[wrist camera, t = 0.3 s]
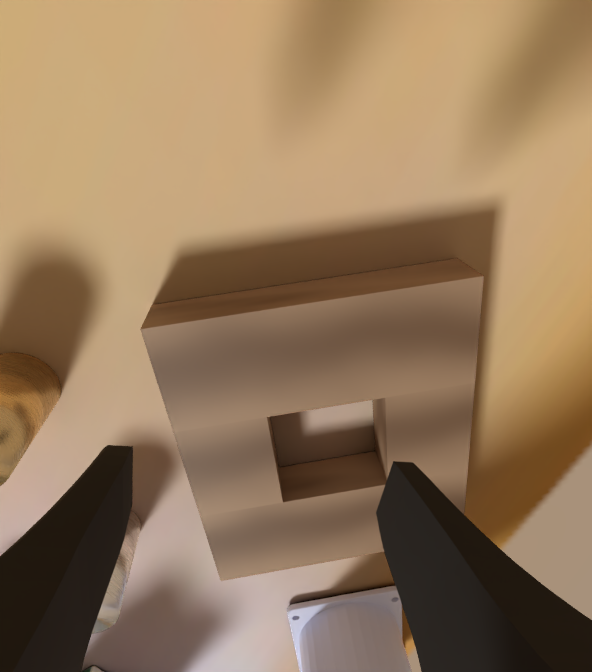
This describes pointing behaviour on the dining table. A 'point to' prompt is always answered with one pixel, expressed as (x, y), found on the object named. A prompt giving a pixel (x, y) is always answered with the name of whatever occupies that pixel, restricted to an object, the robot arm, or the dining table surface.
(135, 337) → the dining table surface
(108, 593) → the steel roller
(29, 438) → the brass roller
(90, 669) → the crayon box
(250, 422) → the socket board
